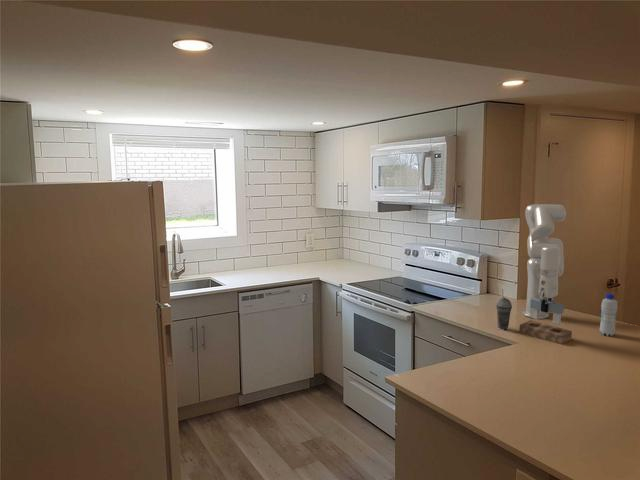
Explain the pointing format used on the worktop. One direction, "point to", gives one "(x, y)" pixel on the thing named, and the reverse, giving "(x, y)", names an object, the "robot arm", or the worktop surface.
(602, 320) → the bottle
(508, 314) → the beverage cup
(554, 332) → the brown rectangular block
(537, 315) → the grey block
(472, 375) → the worktop surface
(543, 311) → the robot arm
